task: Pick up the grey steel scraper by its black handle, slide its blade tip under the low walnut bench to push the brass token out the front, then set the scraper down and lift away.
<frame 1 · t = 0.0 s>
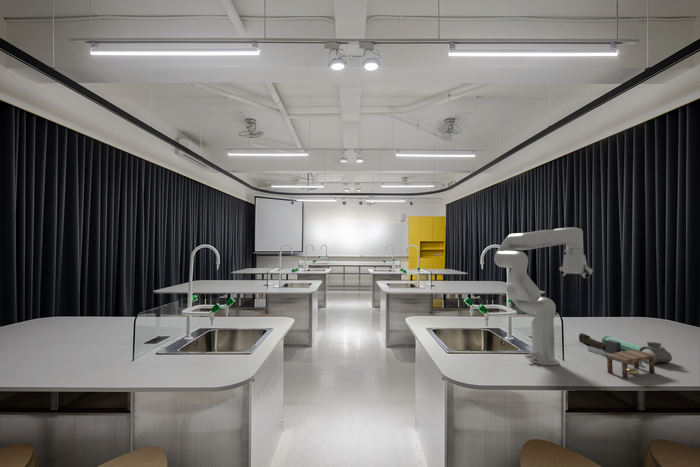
hand: (575, 284, 170), 37 cm above the countertop, fingers open, 9 cm apart
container: (627, 352, 175), on the countertop
pipe fitting: (657, 363, 158), on the countertop
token: (631, 373, 146), on the countertop
bench: (631, 372, 146), on the countertop
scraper: (613, 358, 165), on the countertop
hand tool: (591, 347, 183), on the countertop
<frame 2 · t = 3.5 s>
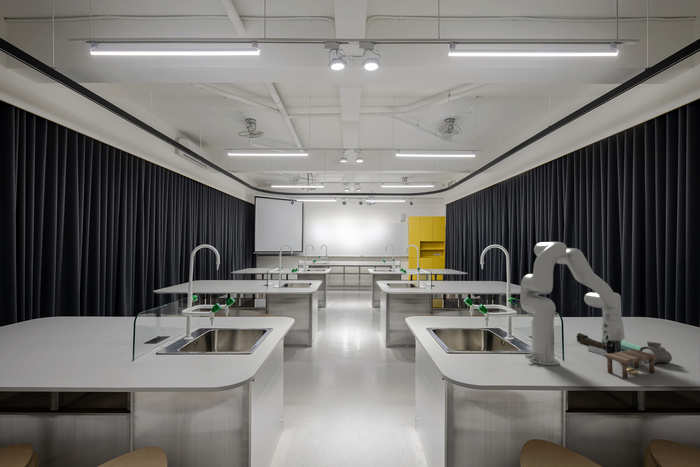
hand: (613, 352, 165), 2 cm above the countertop, fingers closed on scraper, 3 cm apart
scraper: (613, 357, 165), on the countertop, touching gripper
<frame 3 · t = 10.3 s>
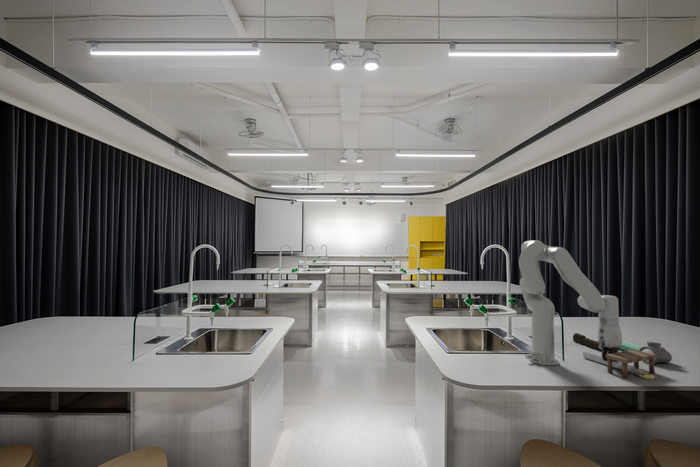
hand: (610, 360, 154), 3 cm above the countertop, fingers closed on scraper, 3 cm apart
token: (646, 378, 140), on the countertop
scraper: (610, 365, 154), on the countertop, touching gripper
when the fingers open (3 cm above the countertop, at t = 12.2 s): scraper stays where it is, on the countertop.
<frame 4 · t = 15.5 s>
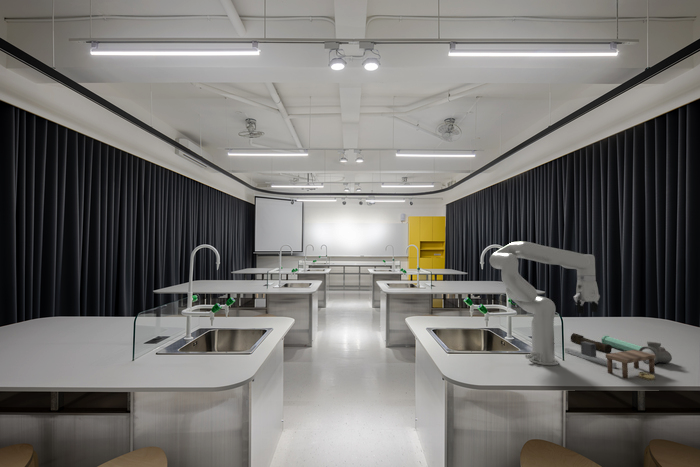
hand: (587, 312, 164), 23 cm above the countertop, fingers open, 9 cm apart
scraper: (588, 360, 163), on the countertop
at the end: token inside the target area (2.8 cm from its centre), on the countertop; the gripper is holding nothing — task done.
